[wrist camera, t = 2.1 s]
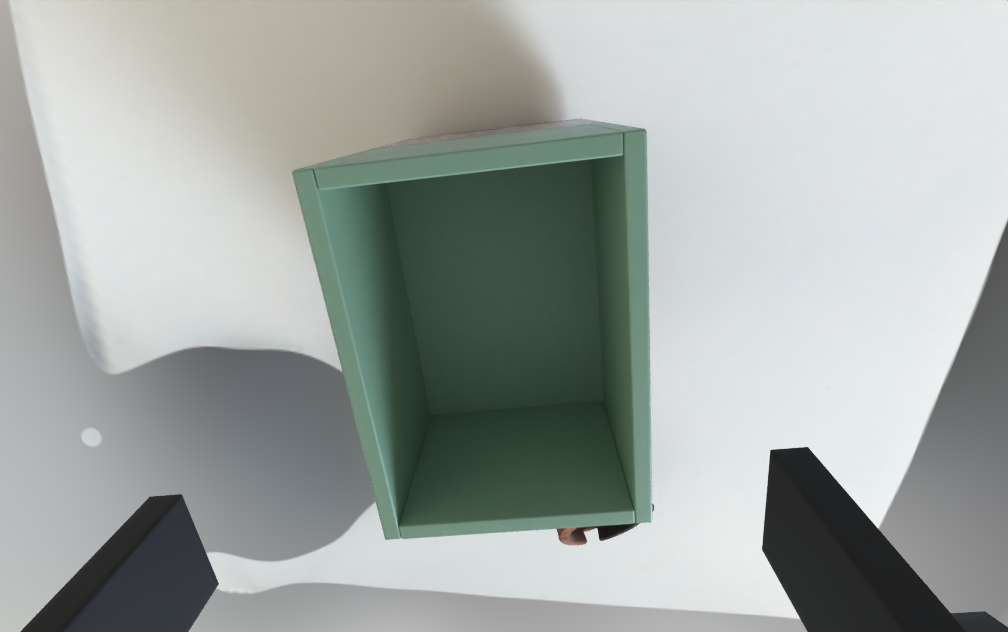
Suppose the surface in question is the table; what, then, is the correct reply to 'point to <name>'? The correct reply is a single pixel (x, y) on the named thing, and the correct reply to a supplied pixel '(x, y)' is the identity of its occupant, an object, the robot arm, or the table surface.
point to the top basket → (493, 325)
